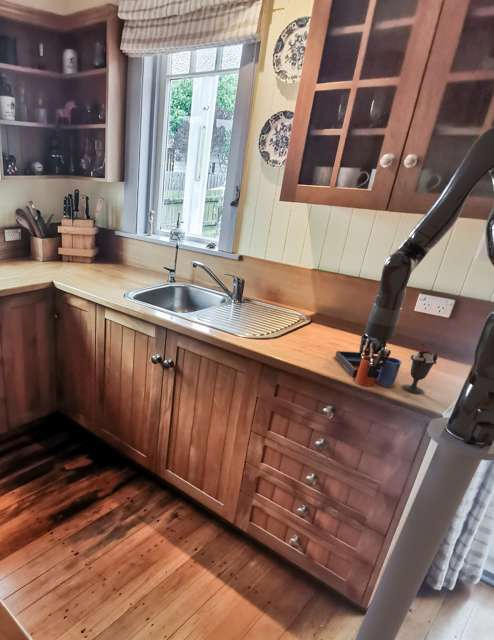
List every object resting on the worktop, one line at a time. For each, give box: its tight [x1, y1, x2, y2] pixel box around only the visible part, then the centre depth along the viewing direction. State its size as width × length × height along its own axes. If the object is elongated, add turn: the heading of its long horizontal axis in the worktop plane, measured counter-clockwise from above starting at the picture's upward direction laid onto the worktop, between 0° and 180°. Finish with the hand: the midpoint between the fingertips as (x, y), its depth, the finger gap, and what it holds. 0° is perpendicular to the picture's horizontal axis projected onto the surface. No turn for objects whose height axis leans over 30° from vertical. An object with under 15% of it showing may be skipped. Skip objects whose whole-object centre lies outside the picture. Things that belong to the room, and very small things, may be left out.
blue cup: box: [375, 356, 402, 388], centre depth 142 cm, size 5×5×8 cm
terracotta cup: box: [354, 356, 376, 387], centre depth 142 cm, size 5×5×8 cm
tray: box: [334, 350, 381, 379], centre depth 153 cm, size 15×11×3 cm
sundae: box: [403, 343, 438, 394], centre depth 138 cm, size 7×7×15 cm
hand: (366, 372), depth 142 cm, fingers closed on terracotta cup, 5 cm apart
